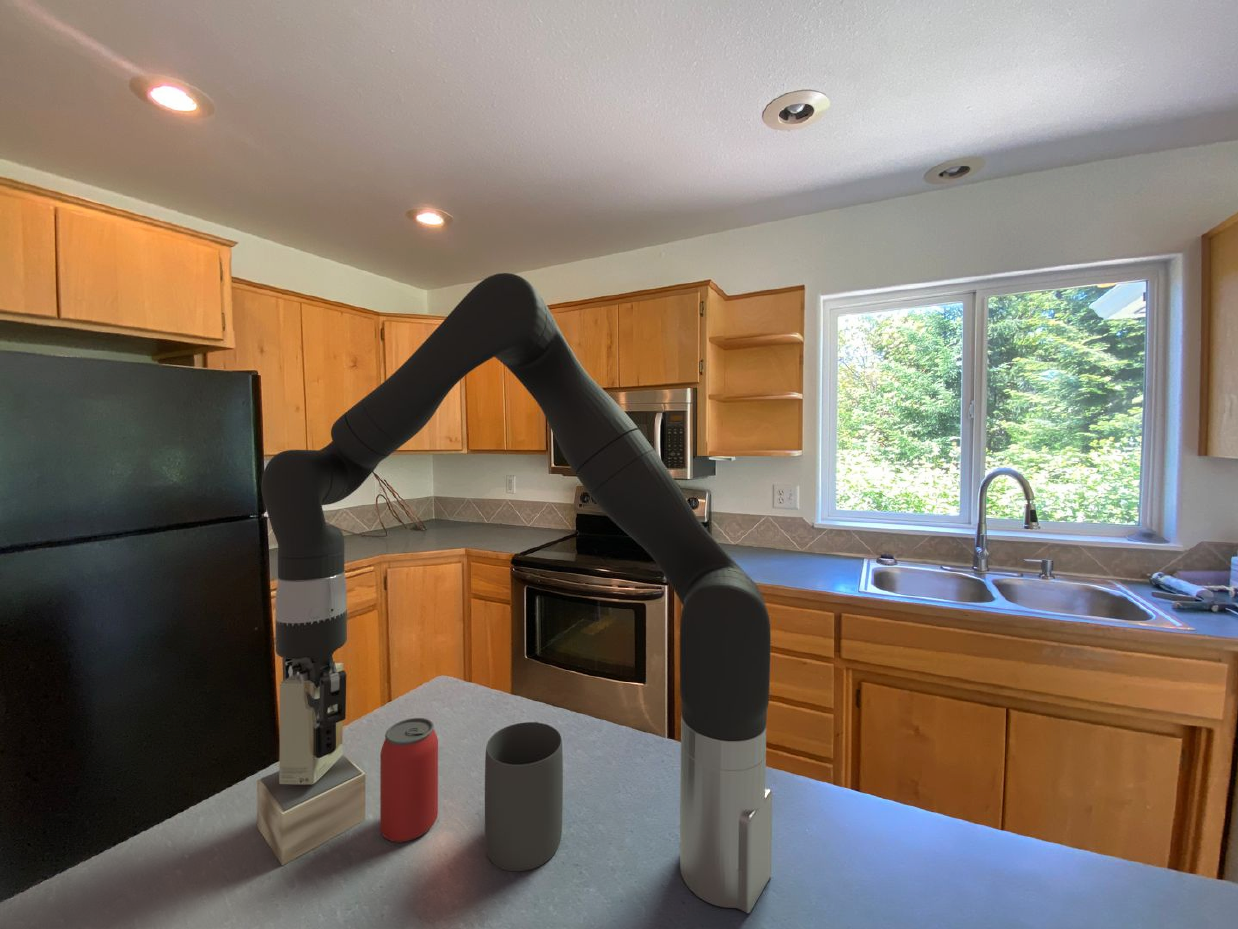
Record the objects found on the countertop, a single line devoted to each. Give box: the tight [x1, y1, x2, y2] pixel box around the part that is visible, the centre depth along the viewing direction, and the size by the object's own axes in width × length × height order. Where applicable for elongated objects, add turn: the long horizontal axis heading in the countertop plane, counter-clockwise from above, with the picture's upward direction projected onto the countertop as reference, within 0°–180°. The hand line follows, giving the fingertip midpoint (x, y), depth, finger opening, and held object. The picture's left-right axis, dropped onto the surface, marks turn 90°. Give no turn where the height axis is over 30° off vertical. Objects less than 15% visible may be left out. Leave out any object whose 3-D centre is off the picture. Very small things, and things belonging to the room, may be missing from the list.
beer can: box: [379, 717, 439, 843], centre depth 61 cm, size 7×7×12 cm
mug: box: [484, 721, 564, 872], centre depth 60 cm, size 14×9×12 cm
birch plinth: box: [256, 753, 366, 866], centre depth 61 cm, size 9×9×6 cm
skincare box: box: [278, 662, 344, 784], centre depth 60 cm, size 6×4×12 cm
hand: (312, 742), depth 61 cm, fingers closed on skincare box, 7 cm apart
